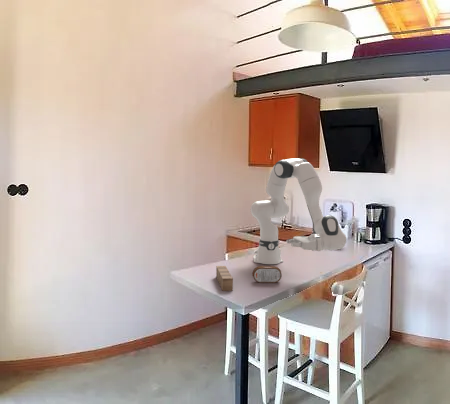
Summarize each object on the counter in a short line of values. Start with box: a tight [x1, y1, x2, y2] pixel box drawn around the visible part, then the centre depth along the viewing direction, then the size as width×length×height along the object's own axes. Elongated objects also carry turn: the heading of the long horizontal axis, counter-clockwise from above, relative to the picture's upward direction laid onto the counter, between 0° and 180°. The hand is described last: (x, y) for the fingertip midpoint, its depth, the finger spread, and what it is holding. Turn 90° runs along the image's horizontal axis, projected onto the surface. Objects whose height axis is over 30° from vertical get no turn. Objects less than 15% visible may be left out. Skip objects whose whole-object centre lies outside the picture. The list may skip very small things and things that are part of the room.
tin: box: [252, 265, 283, 284], centre depth 201 cm, size 15×3×8 cm, turn 92°
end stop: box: [215, 265, 234, 292], centre depth 198 cm, size 24×5×6 cm, turn 8°
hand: (289, 243), depth 201 cm, fingers open, 8 cm apart
